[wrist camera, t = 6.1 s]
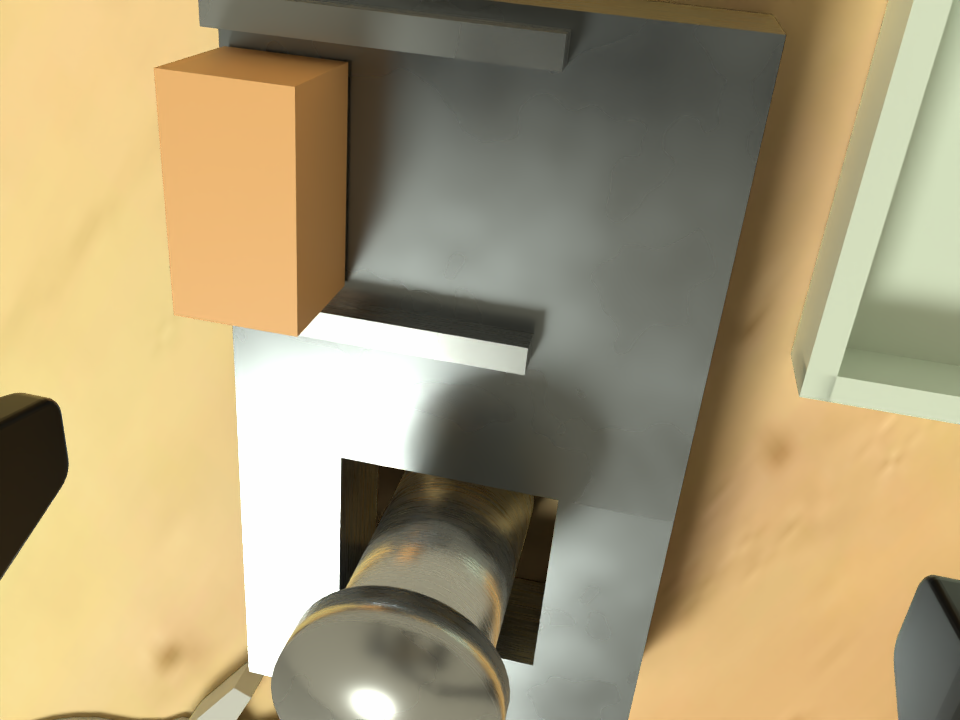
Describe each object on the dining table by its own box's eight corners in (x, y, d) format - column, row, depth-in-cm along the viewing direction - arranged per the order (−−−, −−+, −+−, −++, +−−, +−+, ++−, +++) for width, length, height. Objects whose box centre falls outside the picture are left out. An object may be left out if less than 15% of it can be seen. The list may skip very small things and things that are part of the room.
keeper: (348, 62, 16) (295, 86, 14) (344, 285, 18) (297, 337, 16) (224, 46, 17) (154, 67, 15) (234, 266, 19) (173, 315, 17)
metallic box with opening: (772, 14, 17) (789, 40, 14) (627, 670, 26) (617, 781, 22) (282, -42, 19) (196, -29, 16) (292, 596, 27) (237, 690, 24)
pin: (566, 435, 23) (512, 653, 16) (544, 576, 25) (489, 820, 18) (388, 402, 23) (268, 598, 17) (382, 543, 25) (273, 766, 19)
